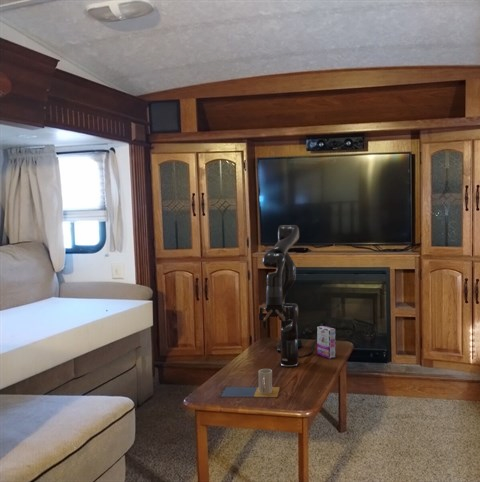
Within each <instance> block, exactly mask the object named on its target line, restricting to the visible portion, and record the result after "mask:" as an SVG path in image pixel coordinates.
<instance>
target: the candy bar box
mask: <svg viewBox="0 0 480 482" xmlns="http://www.w3.org/2000/svg"><path fill="white" fill-rule="evenodd" d="M336 339H337V338H336V328H333V327H330V326H327V325H320V326H317V327H316V340H317V342H316V355H317V356H320V357H323V358H326V359H329V360H330V359H334V358H336V354H337V353H336Z"/></svg>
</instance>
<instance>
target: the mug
mask: <svg viewBox="0 0 480 482" xmlns="http://www.w3.org/2000/svg"><path fill="white" fill-rule="evenodd" d="M257 372H258V373H257V375H258V377H257V378H258V379H257V380H258V387H259V393H260V394H270V393H271V392H272V387H273V370H272V369H271V368H262V369H258V371H257Z"/></svg>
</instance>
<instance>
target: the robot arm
mask: <svg viewBox="0 0 480 482" xmlns="http://www.w3.org/2000/svg"><path fill="white" fill-rule="evenodd" d="M277 230H278V231H277V242H276V243H275V244H274V246H273V247H272V248H271V249H270V250H268V251H266V252H265V253H264V255H263V257H262V265H263V266H264V267H265V268H268V269H276V270H275V271H273V272H268V274H267V275H266V291H265V297H266V300H265V302H266V306H260V308H259V317H258V319H259V321H262V327H263V329H264V330H267V328H268V326H267V325H268V321H267V319H268V318H269V317H277V318H278V320H279V321H282V326H281V328H280V339H281V351H280V366H281V367H285V368H293V367H298V365H299V358H305V357H308V356H309V355H311V354H312V353H313V352H314V344H315V343H317V339H316V340H314V341H313V342H312V344H311V351H310V352H308V353H306V354H305V355H299V347H298V339H299V306H298V303H295V302H294V303H293V302H285V301H286V298H287V295H288V293H289V291H290V289H291V288H292V286H293V285H294V283H295V281H296V278H297V266H296V264H295V262H294V260H293V259H292V257H291V255H290V254H289V250H290V249H291V248H292V247H293V246H294V245H295V244H297V242H298V241H299V239H300V228H299V226H298V225H296V224H283V225H282V224H280V225H279V226H278V229H277ZM265 311H266V313H267V314H266V315H265V316H263V315H264V312H265ZM287 321H288V322H291V323H289V324H287Z"/></svg>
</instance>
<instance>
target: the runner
mask: <svg viewBox="0 0 480 482" xmlns="http://www.w3.org/2000/svg"><path fill="white" fill-rule="evenodd" d="M280 388H281V387H280V386H272V392H271V393H270V394H260V393H259V386H225V388H224V390H223V392H222V394H221V395H220V397H221V398H222V397H224V398H233V397H234V398H249V397H250V398H269V397H270V398H277V397H278V396H279V393H280Z"/></svg>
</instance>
